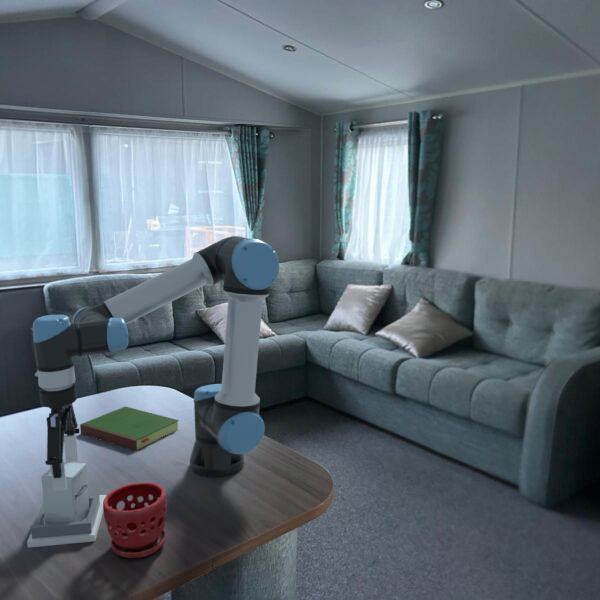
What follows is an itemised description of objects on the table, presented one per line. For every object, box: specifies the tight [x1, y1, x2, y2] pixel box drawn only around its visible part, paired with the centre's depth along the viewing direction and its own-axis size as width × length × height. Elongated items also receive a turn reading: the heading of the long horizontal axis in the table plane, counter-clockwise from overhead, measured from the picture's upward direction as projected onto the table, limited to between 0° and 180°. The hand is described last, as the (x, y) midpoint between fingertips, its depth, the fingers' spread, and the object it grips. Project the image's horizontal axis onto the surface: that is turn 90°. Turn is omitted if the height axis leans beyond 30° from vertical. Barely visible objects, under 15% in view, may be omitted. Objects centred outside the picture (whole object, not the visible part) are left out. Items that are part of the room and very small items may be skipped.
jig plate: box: [26, 494, 107, 548], centre depth 139 cm, size 14×18×4 cm
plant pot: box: [103, 481, 168, 559], centre depth 129 cm, size 13×13×12 cm
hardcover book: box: [79, 406, 179, 452], centre depth 191 cm, size 25×19×4 cm
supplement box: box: [41, 461, 90, 524], centre depth 136 cm, size 7×7×13 cm
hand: (66, 475), depth 136 cm, fingers open, 13 cm apart
